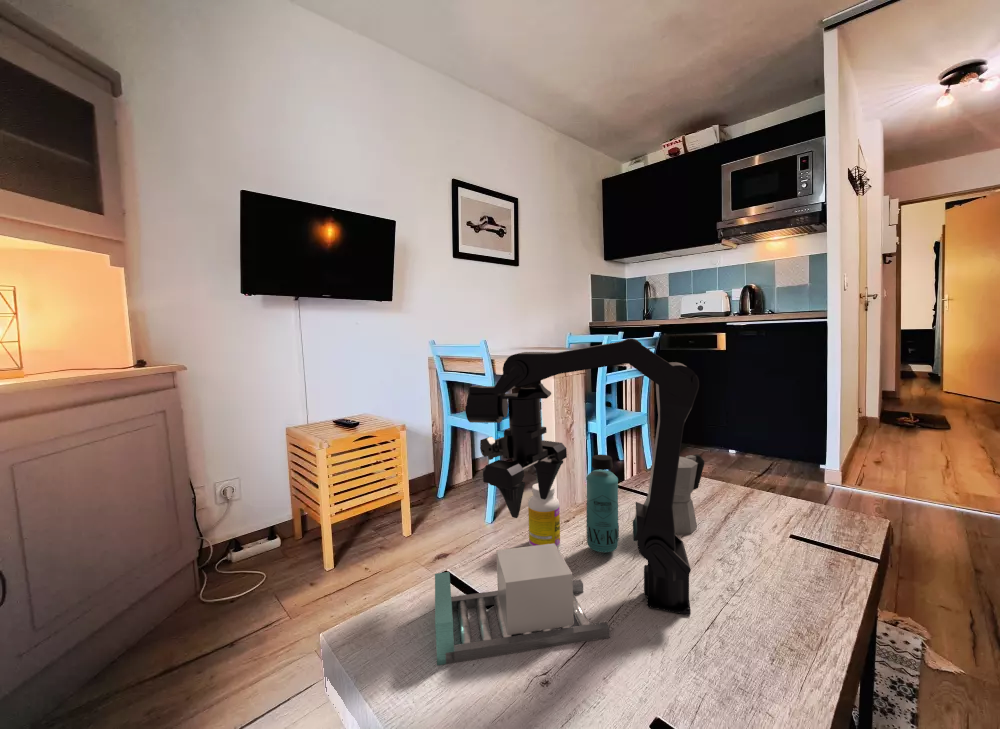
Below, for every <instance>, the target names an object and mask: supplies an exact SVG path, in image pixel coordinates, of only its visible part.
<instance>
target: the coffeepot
mask: <svg viewBox="0 0 1000 729" xmlns="http://www.w3.org/2000/svg"><path fill="white" fill-rule="evenodd" d="M704 467H705V460H704V458H702V456H701V455H700V454H698V453H697V454H692V455H691V454H690V455H686V456H685V457H684V456H680V457H679V464H678V471H677V478H676V485H675V493H674V500H673V507H672V508H673V519H674V530H675V534H676V535H679V536H680V535H689V534H692V533H693V534H694V533H695V531H696V529H697V528H698V524H697V519H696V513H695V507H694V503H693V500H692V497H691V496H692V495H691V494H692V493H693V491H694V490H697V489H699V487H700V486H699V485H700V482H701V480H702V479H701V478H702V474H703V470H704ZM650 469H652V464H651V465H650Z"/></svg>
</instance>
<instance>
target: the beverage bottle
mask: <svg viewBox="0 0 1000 729" xmlns="http://www.w3.org/2000/svg"><path fill="white" fill-rule="evenodd" d="M591 458H592V459H591V467H592V468H593V469H595V470H592V471H591V472H589V473H588V474H587V476H586V479H585V480H586V503H585V505H586V514H585V515H586V516H585V517H586V520H585V522H586V538H585V539H586V543H587V545H588V547H589V549H591V550H593V551H594V552H595V551H596V552H599V553H612V552H615V551H616V550H617V548H618V546H619V542H620V535H619V534H620V533H619V532H620V531H619V530H620V528H619V516H620V515H619V514H620V513H619V483H618V482H619V478H618V476H616V475H615V474H614V472H612V471H611V469H613V467H614V464H613V457H612V456H610V455H607V454H595V455H593V456H592V457H591Z"/></svg>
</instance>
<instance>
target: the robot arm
mask: <svg viewBox="0 0 1000 729" xmlns="http://www.w3.org/2000/svg"><path fill="white" fill-rule="evenodd" d="M624 364H628V365H630V366H631V367H632V368H634V369H636V370H637V371H638V372H640V373H641V374H642V375H643V376H644V377H647V378H648V379H649V380H651V381H652V382H654V384H655V392H656V393H655V394H656V405H657V414H658V416H657V425H656V431H655V432H656V433H655V440H654V447H653V454H652V462H651V465H652V469H651V468H650V469H651V470H650V477H649V483H648V484H649V486H648V492H647V496H646V498H645V501H644V502H643V503H641V502H638V501H635V517H634V519H633V520H632V535H633V536H632V539H633V542H637V543H636V544H637V551H638V553H639V554H640V555H641V556H642V558H644V559H645V560H646V561H647V564H645V565H644V566H643V595H644V596H645V597H646V607H647V608H650V609H655V610H661V611H666V612H672V613H675V614H682V615H686V616H690V615H691V614H692V613H691V603H690V573H691V570H692V568H691V566H690V563H689V562H690V561H689V559H688V555H687V551H686V547H685V543H684V541H683V540H682V539H681V538H680V537H678V534H675V530H674V519H673V508H672V507H673V500H674V493H675V485H676V478H677V471H678V464H679V457H681V448H682V441H683V433H684V427H685V423H686V422H687V421H686V420H687V419H688V416H689V415H690V412H691V411H692V409H693V407H694V403H695V400H696V397H697V395H698V392H699V388H700V379H699V376H698V374H697V373H695V371H694V370H693V369H691V368H690V367H689V366H687V365H685V364H684V363H681V362H677V361H675V362H673V361H672V362H668V361H667V360H665V358H662V357H661V356H659V355H658V354H656V353H655V352H653V351H652V350H650V349H649V348H647V347H646V346H644V345H643V344H642V342H640V341H639V340H637V339H635V338H626V339H624V340H621V341H616V342H611V343H605V344H599V345H598V344H597V345H593V346H586V347H581V348H575V349H569V350H565V351H557V352H552V351H551V352H550V351H549V352H547V351H546V352H545V351H524V352H518V353H515V354H511V355H509V356H508V357H507V358H506V359H505V361H504V363H503V366H502V374H501V375H500V378H499V380H498V381H497V382H496V384H495V385H492V386H491V385H490V386H489V385H488V386H487V385H486V386H484V385H483V386H482V385H471V386H469V388H468V392H469V393H468V396H467V400H466V404H465V407H464V408H465V411H464V412H465V417H466V419H467V421H468V422H469V423H470V424H471V423H479V424H481V423H482V424H483V423H485V424H488V423H490V424H492V423H494V424H496V423H497V424H499V423H502V421H503V420H504V418H506V417H507V416H508V426H509V427H508V428H506V429H504V431H503V436H502V437H499V438H496V439H495V438H494V437H493V436H489V437H486V438H483V439H480V442H479V446H480V447H479V448H480V453H481V455H482V456H483V457H485V458H486V457H488V460H489V461H491V460H493V459H494V458H498V457H501V456H503V457H502V458H503V459H507V460H511V459H512V461H507V460H502V459H497V460H495V461H493V462H490V463H489V464H486V465H485V466H484V467H483V468H482V469H481V470H482V471H481V472H482V482H484V483H486V484H489V485H490V486H493V487H495V488H497V489H498V490H499V491H500V494H501V495H502V498H503V500H504V502H505V504H506V507H507V508H508V511H509V514H510V516H511V518H514V519H518V518H519V515H520V511H521V506H522V501H523V495H524V491H525V486H526V482H525V481H523V480H524V477H525V469H527V468H529V467H531V466H533V467H534V468H535V470H536V475H537V476H536V478H537V483H538V486H539V493H540V498H541V499H544V500H545V499H546V498H547V496H548V494H549V491H550V489H551V486H552V485H554V482H555V479H556V477H557V475H558V472H559V471H560V468H561V466H562V465H563V464H564V460H565V459H567V457H568V456H567V455H568V453H567V452H568V451H567V447H566V445H564V444H563V442H558V441H551V440H543V435H544V434H546V433H547V426H542V411H541V410H542V409H541V408H542V407H541V399H542V400H543V399H548V398H549V397H550V396H551V395H552V392H551V391H550V390H548V389H547V387H545V386H544V384H543V383H542V382H541V383H538V382H540V381H543V380H545V379H548V378H549V379H550V378H551V377H554V376H556V375H560V374H562V375H563V374H567V373H574V372H579V371H586V370H592V369H598V368H599V369H600V368H604V367H611V366H617V365H624ZM535 383H538V384H537V386H536V387H527V386H528V385H531V384H535ZM525 387H527V388H525ZM515 388H520V389H519V390H518V392H517V393H515V392H513V393H507V392H510V391H511V390H513V389H515Z"/></svg>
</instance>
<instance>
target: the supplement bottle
mask: <svg viewBox="0 0 1000 729" xmlns="http://www.w3.org/2000/svg"><path fill="white" fill-rule="evenodd" d="M531 490H532V491H531V492H532V496H531V497H530V498H529V499H528V502H527V508H528V510H527V512H528V514H527V515H528V518H527V519H528V543H529V546H536V545H545V544H553V543H555V545H556V546H557V548H558V549H559V548H560V545H561V517H560V516H561V512H560V501H559V498H557V496H555V485H554V484H552V486H551V489H550V491H549V494H548V496H547V498H546V499H545V500H544V499H541V498H540V493H539V486H538V482H537V483H534V484H532V488H531Z"/></svg>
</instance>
